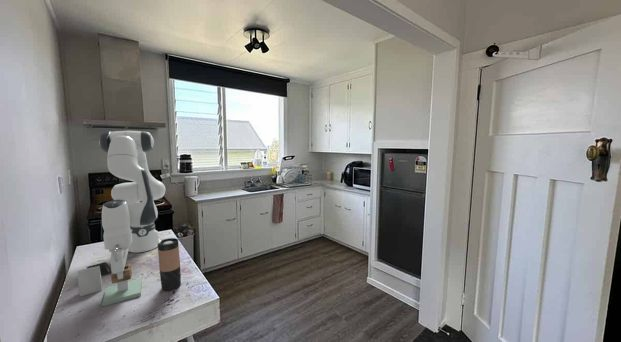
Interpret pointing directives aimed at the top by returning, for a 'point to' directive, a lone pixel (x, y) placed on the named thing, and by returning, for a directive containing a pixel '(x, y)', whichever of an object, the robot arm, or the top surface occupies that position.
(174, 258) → the travel mug
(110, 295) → the base
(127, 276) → the open wooden frame
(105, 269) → the phone
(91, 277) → the white boxy piece
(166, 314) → the top surface
